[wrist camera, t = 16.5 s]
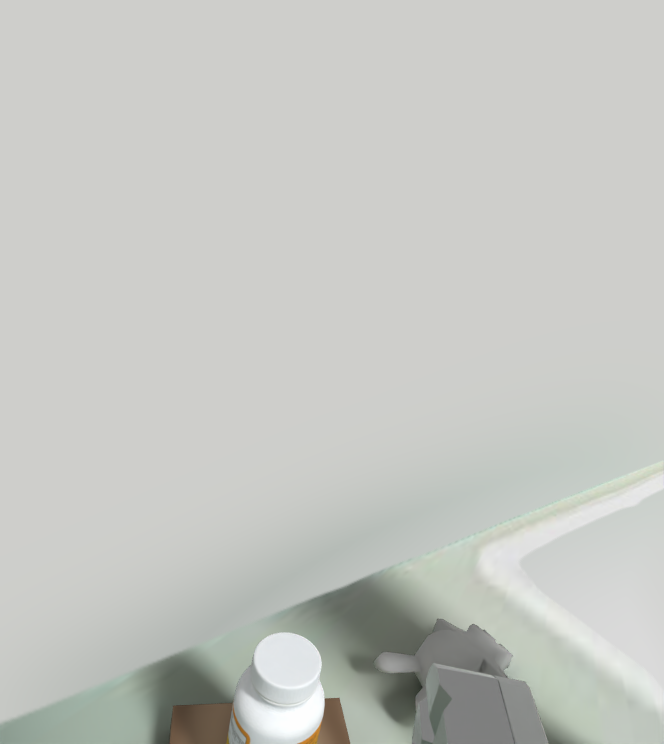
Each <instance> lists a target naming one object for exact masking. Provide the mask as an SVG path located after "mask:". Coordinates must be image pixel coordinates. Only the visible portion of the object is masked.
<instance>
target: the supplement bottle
mask: <svg viewBox="0 0 664 744" xmlns="http://www.w3.org/2000/svg"><path fill="white" fill-rule="evenodd" d="M321 665H322V663H321V657H320V654H319V652H318V650H317V648H316V647H315V646H314V644H312V643H311V642H310V641H309V640H308V639H306V638H304V637H303V636H300V635H297V634H294V633H288V632H281V633H275V634H272V635H269V636H267V637H265V638H264V639H263V640H262V641H260V643H259V644H258V645H257V647H256V649H255V651H254V654H253V659H252V664H251V666H249V667H248V668H247V669H246V670H245V671H244V673H243V674H242V676H241V677H240V679H239V681H238V684H237V686H236V690H235V695H234V700H233V707H232V713H231V719H230V725H229V731H228V736H227V743H226V744H317V740H318V736H319V731H320V727H321V723H322V718H323V713H324V706H325V698H324V691H323V687H322V685H321V683H320V680H319V678H320V672H321Z"/></svg>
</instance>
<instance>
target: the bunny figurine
mask: <svg viewBox="0 0 664 744" xmlns="http://www.w3.org/2000/svg"><path fill="white" fill-rule="evenodd" d="M512 656H513V655H512V654H511V653H510V652H509V651H508V650H506V649H505V648H504V647H503V646H502V645H501V644H497V643H496V642H495V639H494V638H493V637H492V636H491V635H490V634H488V633H487V632H486V631H485V630H482V629H481V628H479V627H478V626H477V625H475V624H472V625H470V626H469V628H468V630H467V632H466V631H463V630H461V629H459V628H457V627H456V626H454V625H452V624H450V623H449V622H447V621H445V620H443V619H437V622H436V624H435V627H434V630H433V632H432V634H430V635H428V636H427V638H426V639H425V640H424V642H423V643H422V645H421V646H420V648H419V649H418V651H417V652H416V653H415V655H414V656H412V655H406V654H400V653H393V652H382V653H381V654H380V655H379V656H378V657H377V658H376V659H375V660H374V662H373V663H374V666H375V668H376V669H377V670H379V671H380V672H382V673H388V674H392V673H410V672H415V674H416V676H417V678H418V680H419V681H420V683H421V685H422V687H423V688H422V689H421V690H420V692H419V693H418V694H417V695H416V697H415V704H416V713H417V709H418V705H419V702H421V701H422V700H424V699H425V698H427V691H426V678H427V675H428V672H429V669H430V667H431V666H432V664H433V663H436V664H441V665H445V666H450V667H455V668H460V669H464V670H469V671H474V672H479V673H483V674H488V675H492V676H494V675H495V676H500V677H504V678H507V676H506V675H505V674H504V672H503V671H504V670H505V669H506V668H508V666H509V664H510V661H511V659H512Z"/></svg>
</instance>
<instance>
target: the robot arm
mask: <svg viewBox="0 0 664 744" xmlns="http://www.w3.org/2000/svg"><path fill="white" fill-rule="evenodd" d="M426 691H427V698H425V699H424V700H422V701H421V702H419V705H418V709H417V713H416V717H415V722H414V729H413V737H412V744H549V743H548V740H547V737H546V734H545V731H544V728H543V725H542V722H541V720H540V717H539V714H538V711H537V708H536V705H535V702H534V699H533V696H532V693H531V690H530V687H529V686H528V685H527V684H526V682H524V681H519V680H514V679H509V678H504V677H500V676H495V675H494V676H492V675H488V674H483V673H479V672H474V671H469V670H464V669H460V668H455V667H450V666H445V665H441V664H436V663H433V664H432V666H431V667H430V669H429V672H428V675H427V678H426Z"/></svg>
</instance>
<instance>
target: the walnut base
mask: <svg viewBox="0 0 664 744" xmlns="http://www.w3.org/2000/svg"><path fill="white" fill-rule="evenodd" d="M232 707H233V703H220V704H199V705H177V706H173V712H172V720H171V728H170V739H169V744H226V743H227V736H228V731H229V725H230V719H231V713H232ZM317 744H350V740H349V736H348V732H347V728H346V724H345V720H344V716H343V711H342V707H341V703H340V699H339V698H328V699H325V706H324V713H323V718H322V723H321V727H320V731H319V736H318V740H317Z"/></svg>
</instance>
